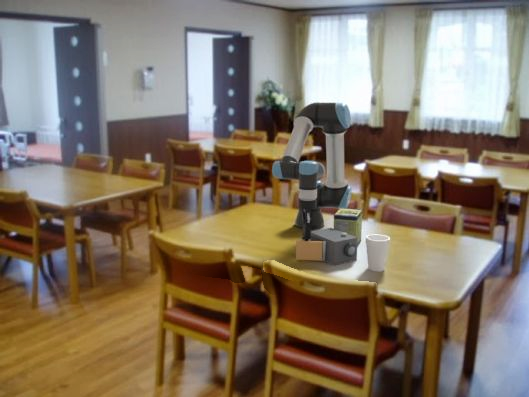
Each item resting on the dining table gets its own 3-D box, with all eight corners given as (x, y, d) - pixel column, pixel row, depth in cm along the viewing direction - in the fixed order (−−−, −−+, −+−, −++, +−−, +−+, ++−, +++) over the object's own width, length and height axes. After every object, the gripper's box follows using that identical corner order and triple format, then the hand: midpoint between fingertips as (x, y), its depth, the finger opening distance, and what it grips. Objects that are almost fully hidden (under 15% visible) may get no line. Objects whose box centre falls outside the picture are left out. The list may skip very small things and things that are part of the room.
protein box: (361, 241, 254) (362, 209, 250) (355, 250, 239) (356, 217, 236) (339, 239, 257) (340, 207, 254) (332, 248, 243) (333, 215, 239)
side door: (295, 258, 226) (296, 240, 224) (325, 259, 224) (325, 241, 223) (295, 259, 224) (296, 241, 223) (325, 260, 223) (325, 242, 221)
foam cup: (362, 265, 221) (363, 234, 218) (384, 264, 222) (385, 234, 219) (368, 273, 212) (369, 241, 209) (391, 272, 213) (393, 240, 210)
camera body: (329, 249, 242) (330, 225, 239) (359, 261, 225) (360, 236, 223) (307, 253, 235) (308, 229, 233) (337, 266, 219) (337, 240, 216)
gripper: (297, 195, 229) (295, 248, 234) (299, 202, 216) (298, 258, 221) (314, 195, 229) (313, 248, 234) (318, 202, 216) (316, 258, 221)
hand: (306, 253), depth 227 cm, fingers closed
